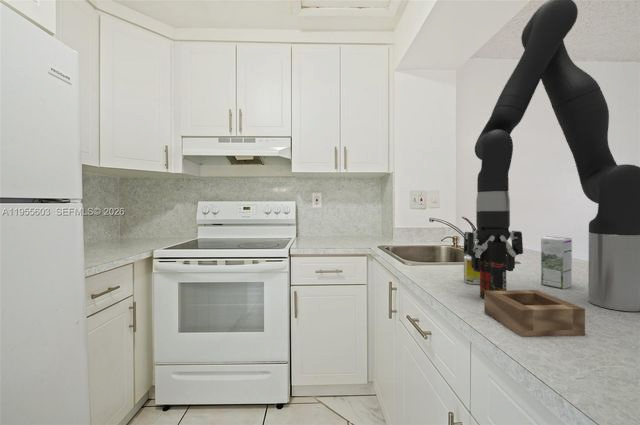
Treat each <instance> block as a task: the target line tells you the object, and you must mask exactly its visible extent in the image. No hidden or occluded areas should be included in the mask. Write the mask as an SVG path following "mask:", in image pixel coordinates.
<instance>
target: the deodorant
mask: <svg viewBox="0 0 640 425" xmlns="http://www.w3.org/2000/svg"><path fill="white" fill-rule="evenodd" d="M482 245H483V243H480V246H482ZM506 256H507V255H506V242H487V249H486V250H485V251H483V252H482V254H481V255H480V284H479V287H480V288H479V298H481V299H482V300H484V291H507V270H506Z"/></svg>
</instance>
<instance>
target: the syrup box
mask: <svg viewBox="0 0 640 425" xmlns="http://www.w3.org/2000/svg"><path fill="white" fill-rule="evenodd" d="M572 252H573V239H572V237H561V236H549V235H548V236H547V235H546V236H543V237H541V239H540V266H541V267H540V272H541V273H540V274H541V275H540V276H541V277H540V278H541V281H540V282H541V284H540V285H542V286H547V287H552V288H557V289H562V290H565V289H568V288H571V287H572V286H573V276H572V274H573V273H572V272H573V271H572V270H573V269H572V266H573V265H572V264H573V260H572V259H573V257H572V255H573V254H572Z"/></svg>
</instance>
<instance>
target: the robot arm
mask: <svg viewBox="0 0 640 425" xmlns="http://www.w3.org/2000/svg"><path fill="white" fill-rule="evenodd" d="M578 12H579V11H578V7H577V4H576V2H575V1H574V0H547V1H546V2H544V3H543V4H542V5H540V6H539V8H537V9H536V11H535V12H534V13H533V15H532V16H531V17H530V19H529V21H528V22H527V23H526V25H525V26H524V27H523V30H522V32H521V39H520V40H521V45H522V47H523V49H524V51H523V52H522V55H521V57H520V59H519V61H518V62H517V65H516V66H515V68H514V70H513V71H512V72H511V75H510V77H509V78H508V80H507V82H505V85H504V87H503V89H502V91H501V93H500V95H499V96H498V99H497V101H496V103H495V105H494V107H493V110H492V112H491V115H490V117H489V119H488V121H487V122H486V124H485V126H484V128H483V129H482V131H481V133H480V134H479V136H478V138H477V140H476V142H475V146H474V154H475V156H476V157H477V158H478V159H479V160H481V168H480V170H479V172H478V174H477V178H476V179H477V181H476V182H477V183H476V184H477V185H476V187H477V194H476V202H475V204H476V208H475V210H476V214H475V215H476V216H475V217H476V221H475V222H476V223H475V224H476V232H472V231H465V232H464V235H463V251H462V252H463V254H465V255H466V256H467V255H470V256H471V267H472V269H473V270H474V271H476V272H480V258H479V256H480V255H481V254H482V252H483V251H485V250H486V249H487V242H506V272H507V271H508V272H513V271H514V269H515V267H516V265H515V264H516V261H515V260H516V256H518V255H522V254H523V253H524V249H523V248H524V246H523V245H524V244H523V234H522V233H523V232H522V231H520V230H519V231H518V230H511V231H510V230H509V229H510V226H511V210H510V209H511V207H510V206H511V204H510V203H511V202H510V201H511V200H510V194H509V183H510V182H509V171H510V169H511V163H512V159H513V151H514V143H513V138H512V137H511V133H512V132H513V130H514V129H515V128H516V127H517V126H518V125H519V124H520V122H521V121H522V120H523V117H524V116H525V113H526V111H527V109H528V107H529V105H530V103H531V100H532V98H533V96H534V94H535V92H536V89H537V87H538V85H539V84H540V81H541V82H542V85H543V88H544V91H545V93H546V95H547V97H548V99H549V101H550V105H551V107H552V110H553V113H554V115H555V117H556V120H557V122H558V125H559V126H560V128H561V130H562V134H563V136H564V138H565V141H566V143H567V145H568V147H569V150H570V152H571V154H572V157H573V159H574V163H575V167H576V170H577V174H578V177H579V182H580V185H581V189H582V192H583V193H584V195H585V196H586V198H587V199H589V201H591V202H593V203H595V204H597V213H596V214H595V217H593V219H591V220H590V221H589V222H588V280H587V281H588V282H587V283H588V285H587V286H588V289H587V290H588V291H587V292H588V299H587V300H588V302H589V303H590V304H593V305H594V306H599V307H602V308H604V309H605V308H606V309H610V310H616V311H623V312H640V166H638V165H634V164H628V163H627V164H617V162H616V160H615V158H614V156H613V154H612V151H611V148H610V144H609V139H608V138H609V125H610V124H609V123H610V110H609V106H608V103H607V100H606V98H605V96H604V93H603V91H602V89H601V87H600V85H599V83H598V81H597V80H595V78H594V77H592V76H591V75H590V74H588V72H586V71H584V70H583V69H581V68H580V67H579V66H577V64H575V63H574V61H572V59H571V57H570V55H569V53H568V50H567V48H566V46H565V42H564V40H565V38H566V36H568V34H569V33H570V31H571V30H572V29H573V27H574V25H575V23H576V21H577V19H578V14H579V13H578ZM475 239H477V242H476V243H475V244H474V240H475ZM509 239H510V240H511V243H510V242H509ZM480 243H483V245H482V246H480Z"/></svg>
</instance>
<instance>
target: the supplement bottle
mask: <svg viewBox="0 0 640 425" xmlns="http://www.w3.org/2000/svg"><path fill="white" fill-rule="evenodd" d="M479 258H480V256H479ZM463 281H464V283H466V284H470V285H479V286H480V272H476V271H474V270H473V269H472V267H471V256H470V255H467V254H466V255H464V256H463Z"/></svg>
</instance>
